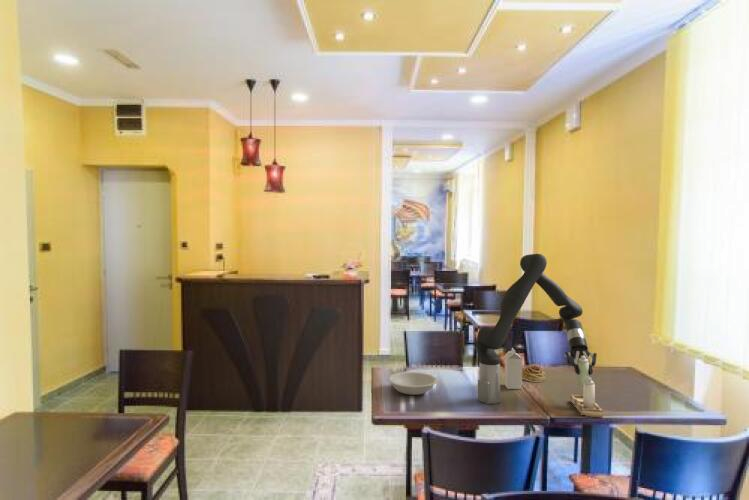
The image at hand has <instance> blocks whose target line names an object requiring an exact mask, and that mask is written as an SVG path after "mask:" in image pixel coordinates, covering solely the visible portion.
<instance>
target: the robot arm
mask: <svg viewBox="0 0 749 500" xmlns="http://www.w3.org/2000/svg"><path fill="white" fill-rule="evenodd" d="M547 264H548V262H547V257H546V256H545V255H543V254H542V253H532V254H531V253H530V254H526V255H523V256H522V257H521V259H520V262H519V266H520V268H521V270H522V271H523V274H522V275H521V277H520V278H518V279H517V280H516V281H515V282H514V283H513V284H511V285H510V287H508V288H507V290H506V291H505V293H504V295H503V297H502V299H501V301H500V306H499V307H500V309H499V310H500V311H499V313H500V315H499V319H498V321H497V323H496V324H495V326H494V327H490V326H482V327H480V329H479V330H478V332H477V337H476V348H477V356H478V359H479V363H478V364H479V366H478V367H479V368H478V369H479V372H478V374H479V375H478V377H479V378H478V380H477V401H478V402H482V403H484V404H486V405H490V404H494V405H495V404H498V403H500V402H501V358H500V356H499V355H498V353H497V352H496V350H499V349H500V348H502V347H503V344H504V343H505V341H506V339H507V337H508V335H509V331H510V329H511V327H512V325H513V324H514V322H515V319H516V318H517V316H518V313H519V311H520V310H522V309H521V308H522V307H523V305H524V304H525V302H526V301H527V298H528V296H529V294H530V292H531V291H532V289H533V287H534V286H535V284H537V285H538V287H540V288H541V289H542V290H543V291H544V293H546V295H547V296H548V297H549V299H550V300H551V301H552V303H554V305H555V306H556V307H560V308H559V310H558V315H559V317H560V318H561V320H562V322H563V324H564V326H565V328H566V335H567V342H568V345H569V346H568V347H569V352H567V351H565V352H564V354H563V356H564V358H565V360H566V362H567V363H568V366H570V367H573V368H574V373H575V374H576V375H577V376H578V375H579V374H580V371H579V366H578V361H579V359H580V358H581V356H585V357H586V359H587V360H588V362H589V376H592V374H593V373H594V370H593V368H594V367H595V366H596V362H597V355H598V354H597V353H596V352H593V353H592V352H590V351H589V348H588V343H587V339H586V336H585V333H584V329H583V326H582V322H581V321H580V320H579V319H576V318H579V317H581V316H582V315H583V308H582V306H581V305H580V304H579V303H578V302H577V301H575V300H573V298H571V297H569V296H568V295H567V294H566V292H565V290H564V289H562V287H561V286H560V285H559V284H558V283H557V282H555V281H554V280H552V279H551V278H549V277H548V276H547V275H546V274H545V273H544V272H545V269H546V267H547ZM571 357H572V358H573V359H572V358H571ZM589 357H590V358H591V361H590V358H589Z"/></svg>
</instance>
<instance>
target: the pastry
mask: <svg viewBox="0 0 749 500" xmlns="http://www.w3.org/2000/svg"><path fill="white" fill-rule="evenodd" d="M522 378H525V379H528V380H532V381H543V382H544V380H543V379H545V380H546V373H545V371H544V369H542V367H540V365H538V364H528V365H526V366H525V367H522Z"/></svg>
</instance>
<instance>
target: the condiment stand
mask: <svg viewBox="0 0 749 500" xmlns="http://www.w3.org/2000/svg"><path fill="white" fill-rule="evenodd" d="M569 399H570V400H571V401H572V402H573V404H574V405H575V406H576V407H577V409H578V410H579V411H580V413H581V414H582V415H586V416H585V417H588V416H590V417H591V418H603V417H604V412H603V410H604V409H602V408H601V406H600V405H599V404H598V403H597V402H596V401H595V409H589V408H584V407H583V394H582V395H580V394H570V398H569ZM571 401H570V402H571ZM573 404H572V405H573ZM574 405H573V406H574ZM575 406H574V407H575ZM577 409H576V410H577ZM578 410H577V411H578ZM580 413H579V414H580ZM581 414H580V415H581ZM582 415H581V416H582Z"/></svg>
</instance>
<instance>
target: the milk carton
mask: <svg viewBox="0 0 749 500" xmlns="http://www.w3.org/2000/svg"><path fill="white" fill-rule="evenodd" d="M522 368H523V358H522V357H521V356H520V355H519V354H518V353H516V350H515V349H514V348H513V347H511V350H509V351H507V352H506V353H505V355H504V386H505V387H506V389H507V390H508V389H509V390H522V389H523V379H522Z"/></svg>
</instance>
